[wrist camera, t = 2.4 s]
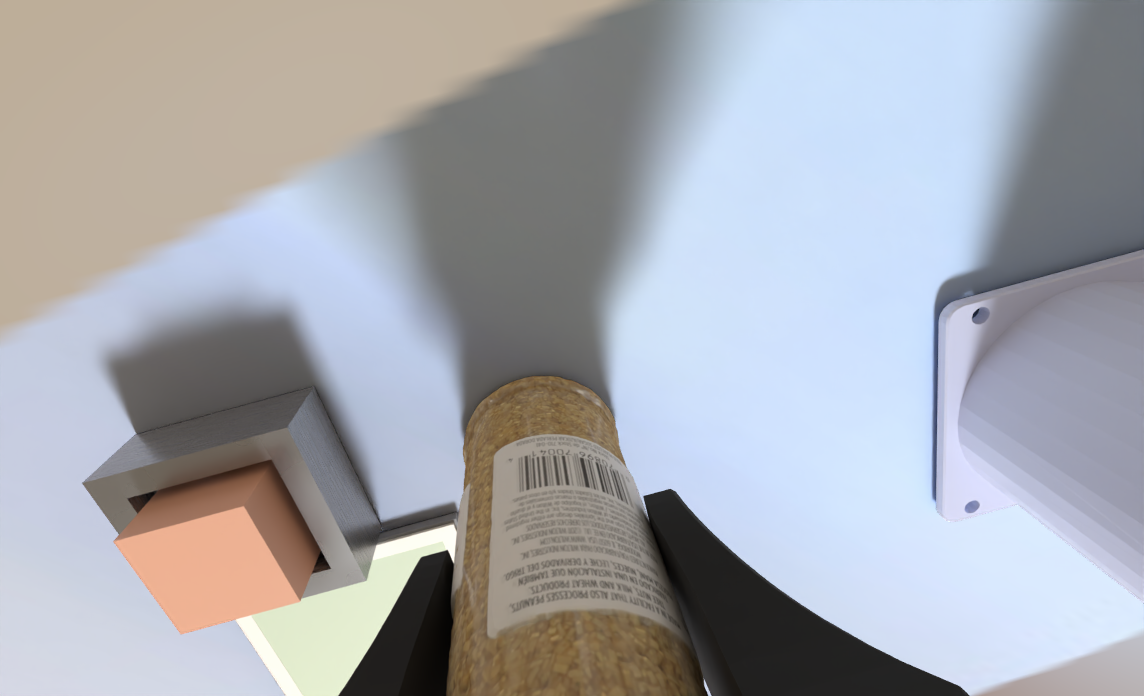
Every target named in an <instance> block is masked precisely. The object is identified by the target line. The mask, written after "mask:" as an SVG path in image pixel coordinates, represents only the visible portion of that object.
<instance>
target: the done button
mask: <svg viewBox="0 0 1144 696" xmlns="http://www.w3.org/2000/svg"><path fill="white" fill-rule="evenodd" d="M113 542H114V543H115V545H116V546H117V547H118V549H119V550H120V551H121V553H122V554H123V556H124V557H125V558H126V560H127V561H128V562H129V564H130V565H131V567H132V568H133V569H134V571H135V572H136V573H137V575H138V576H139V578H140V579H141V580H142V582H143V583H144V584H145V586H146V587H147V589H148V590H149V591H150V593H151V594H152V595H153V597H154V598H155V599H156V601H157V602H158V604H159V605H160V606H161V608H162V609H163V610H164V612H165V613H166V615H167V616H168V617H169V619H170V620H171V621H172V623H173V624H174V626H175V627H176V628H177V630H178V631H179V632H180V634H184V633H188V632H192V631H195V630H199V629H203V628H206V627H210V626H214V625H217V624H221V623H225V622H228V621H232V620H236V619H239V618H243V617H247V616H250V615H254V614H258V613H261V612H265V611H268V610H272V609H276V608H279V607H283V606H287V605H290V604H294V603H298V602H300V601H301V599H302V596H303V594H304V591H305V589H306V586H307V584H308V581H309V579H310V576H311V574H312V571H313V569H314V566H315V564H316V561H317V559H318V556H319V554H320V551H321V549H320V547H319V545H318V544H317V542H316V540H315V538H314V536H313V534H312V533H311V531H310V529H309V527H308V525H307V523H306V522H305V520H304V518H303V516H302V514H301V512H300V511H299V509H298V507H297V505H296V503H295V501H294V500H293V498H292V496H291V494H290V492H289V490H288V489H287V487H286V485H285V483H284V481H283V479H282V478H281V476H280V474H279V472H278V470H277V468H276V467H275V465H274V463H273V461H272V459H271V460H267V461H263V462H260V463H256V464H252V465H249V466H245V467H241V468H237V469H234V470H230V471H226V472H223V473H219V474H215V475H212V476H208V477H204V478H201V479H197V480H193V481H190V482H186V483H182V484H179V485H175V486H171V487H168V488H164V489H160V490H158V491H157V492H156V494H155V495H154V496H153V497H152V498H151V499H150V500H149V502H148V503H147V504H146V505H145V506H144V507H143V508H142V509H141V511H140V512H139V513H138V514H137V515H136V516H135V517H134V519H133V520H132V521H131V522H130V523H129V524H128V525H127V527H126V528H125V529H124V530H123V531H122V532H121V533H120V535H119V536H118V537H117V538H116V539H115V540H114V541H113Z"/></svg>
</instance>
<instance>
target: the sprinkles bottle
mask: <svg viewBox="0 0 1144 696" xmlns="http://www.w3.org/2000/svg"><path fill="white" fill-rule="evenodd" d="M463 456H464V462H465V466H466V467H465V478H464V493H463V495H462V498H461V502H460V508H459V515H458V525H457V535H456V545H455V557H454V571H453V581H452V592H451V613H452V618H453V626H452V630H451V647H450V652H449V670H448V676H447V691H446V696H708V694H707V691H706V689H705V687H704V678H703V674H702V669H701V665H700V662H699V659H698V656H697V653H696V650H695V647H694V645H693V642H692V639H691V636H690V634H689V631H688V628H687V625H686V622H685V620H684V617H683V614H682V611H681V608H680V606H679V603H678V600H677V597H676V595H675V592H674V589H673V586H672V583H671V581H670V578H669V575H668V572H667V569H666V566H665V563H664V560H663V558H662V555H661V553H660V550H659V547H658V544H657V541H656V539H655V536H654V533H653V530H652V528H651V525H650V522H649V519H648V516H647V514H646V511H645V508H644V506H643V503H642V500H641V497H640V495H639V492H638V489H637V487H636V484H635V482H634V479H633V477H632V475H631V474H630V472H629V470H628V469H627V467H626V464H625V461H624V458H623V456H622V453H621V450H620V447H619V439H618V433H617V429H616V426H615V420H614V417H613V416H612V414H611V412H610V410H609V408H608V407H607V406H606V404H605V403H604V402H603V401H602V400H601V398H600V397H599V396H598V395H596V394H595V393H594V392H593V391H592V390H591V389H589V388H587V387H585V386H583V385H581V384H579V383H577V382H575V381H572V380H566V379H563V378H561V377H555V376H532V377H525V378H523V379H519V380H516V381H513V382H511V383H509V384H506V385H504V386H502V387H500V388H499V389H498V390H497V391H495V392H493V393H492V394H490V395H489V396H488V397H487V398H485V399H484V400H483V401H482V402H481V403H480V404H479V405H478V406H477V408H476V409H475V411H474V413H473V415H472V417H471V419H470V421H469V423H468V425H467V428H466V435H465V438H464V446H463Z"/></svg>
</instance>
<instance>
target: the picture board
mask: <svg viewBox="0 0 1144 696" xmlns="http://www.w3.org/2000/svg"><path fill="white" fill-rule="evenodd" d="M457 525H458V515H457V512H455V513H452V514H448V515H444V516H441V517H437V518H433V519H430V520H426V521H422V522H419V523H415V524H411V525H408V526H404V527H400V528H397V529H393V530H389V531H386V532H382V533H380V535H379V538H378V542H377V545H376V549H375V552H374V556H373V560H372V563H371V567H370V570H369V574H368V578H367V581H364V582H361V583H357V584H353V585H350V586H346V587H342V588H339V589H335V590H331V591H328V592H324V593H320V594H317V595H313V596H309V597H306V598H302V599H301V601H300V602H298V603H294V604H290V605H287V606H283V607H279V608H276V609H272V610H268V611H265V612H261V613H258V614H254V615H250V616H247V617H243V618H239V619H236V622H237V623H238V625H239V626H240V628H241V629H242V631H243V632H244V634H245V635H246V637H247V638H248V640H249V641H250V643H251V644H252V646H253V647H254V649H255V650H256V652H257V653H258V655H259V656H260V658H261V659H262V661H263V662H264V664H265V665H266V667H267V668H268V670H269V671H270V673H271V674H272V676H273V677H274V679H275V680H276V682H277V683H278V685H279V686H280V688H281V689H282V691H283V692H284V694H285V696H338V695H339V694H340V692H341V691H342V689H343V688H344V686H345V685H346V683H347V682H348V680H349V679H350V677H351V676H352V674H353V673H354V671H355V669H356V668H357V666H358V665H359V663H360V662H361V660H362V659H363V657H364V655H365V654H366V652H367V651H368V649H369V647H370V646H371V644H372V643H373V641H374V639H375V637H376V636H377V634H378V632H379V631H380V629H381V627H382V625H383V624H384V622H385V620H386V619H387V617H388V615H389V613H390V612H391V610H392V608H393V606H394V604H395V603H396V601H397V599H398V597H399V595H400V594H401V592H402V590H403V588H404V586H405V584H406V583H407V581H408V579H409V577H410V575H411V573H412V572H413V570H414V568H415V566H416V565H417V563H418V561H419V560H420V558H421V557H423V556H427V555H430V554H434V553H438V552H441V551H445V550H448V551H449V553H450V556H451V558H452V560H453V563H454V557H455V545H456V535H457Z"/></svg>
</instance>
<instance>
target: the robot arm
mask: <svg viewBox="0 0 1144 696" xmlns="http://www.w3.org/2000/svg"><path fill="white" fill-rule="evenodd" d="M977 309H979V312H978V314H977V315H976V316H975V317H974V318H972V316H973V313H974V312H975V311H976V310H977ZM643 497H644V501H645V505H646V509H647V514H648V518H649V522H650V525H651V528H652V530H653V533H654V536H655V539H656V541H657V544H658V547H659V550H660V553H661V555H662V558H663V560H664V563H665V566H666V569H667V572H668V575H669V578H670V581H671V583H672V586H673V589H674V592H675V595H676V597H677V600H678V603H679V606H680V608H681V611H682V614H683V617H684V620H685V622H686V625H687V628H688V631H689V634H690V636H691V639H692V642H693V645H694V647H695V650H696V653H697V656H698V659H699V662H700V665H701V669H702V674H703V677H704V679H705V682H706V684H707V686H708V688H709V691H710V693H711V695H712V696H969V695H968V694H967V693H966V692H965V691H964V690H963V689H962V688H961V687H960V686H958V685H955V684H953V683H951V682H948V681H946V680H944V679H941V678H939V677H937V676H934V675H932V674H930V673H927V672H925V671H923V670H920V669H918V668H916V667H913V666H911V665H909V664H906V663H904V662H902V661H900V660H898V659H896V658H894V657H892V656H890V655H888V654H886V653H884V652H882V651H880V650H878V649H876V648H874V647H872V646H870V645H868V644H866V643H865V642H863V641H861V640H859V639H858V638H856V637H854V636H852V635H851V634H849V633H847V632H845V631H844V630H842V629H840V628H838V627H837V626H835V625H833V624H831V623H830V622H828V621H826V620H824V619H823V618H821V617H820V616H818V615H816V614H815V613H813V612H812V611H810V610H809V609H807V608H806V607H804V606H803V605H801V604H800V603H798V602H797V601H795V600H794V599H792V598H791V597H789V596H788V595H787V594H785V593H784V592H782V591H781V590H779V589H778V588H777V587H775V586H774V585H773V584H771V583H770V582H769V581H767V580H766V579H765V578H764V577H762V576H761V575H760V574H758V573H757V572H756V571H755V570H754V569H752V568H751V567H750V566H749V565H747V564H746V563H745V562H744V561H743V560H741V559H740V558H739V557H738V556H737V555H736V554H735V553H733V552H732V551H731V550H730V549H729V548H728V547H727V546H726V545H725V544H724V543H723V542H722V541H720V540H719V539H718V538H717V537H716V536H715V535H714V534H713V533H712V532H711V531H710V530H709V529H708V528H707V527H706V526H705V525H704V524H703V523H702V522H701V521H700V520H699V519H698V518H697V517H696V516H695V514H694V513H693V512H692V511H691V510H690V509H689V508H688V507H687V505H686V504H685V503H684V502H683V501H682V499H681V498H680V497H679V495H678V494H677V493H676V492H675V491H673V490H671V489H668V490H664V491H661V492H657V493H654V494H650V495H646V496H643ZM1015 505H1018V506H1020V507H1021V508H1022V509H1024V510H1025V511H1026V512H1027V513H1029V514H1030V515H1031V516H1032V517H1034V518H1035V519H1036V520H1038V521H1039V522H1040V523H1041V524H1043V525H1044V526H1045V527H1047V528H1048V529H1049V530H1050V531H1052V532H1053V533H1054V534H1056V535H1057V536H1058V537H1059V538H1061V539H1062V540H1063V541H1064V542H1066V543H1067V544H1068V545H1070V546H1071V547H1072V548H1073V549H1075V550H1076V551H1077V552H1079V553H1080V554H1081V555H1082V556H1084V557H1085V558H1086V559H1087V560H1089V561H1090V562H1091V563H1093V564H1094V565H1095V566H1096V567H1098V568H1099V569H1100V570H1102V571H1103V572H1104V573H1105V574H1107V575H1108V576H1109V577H1111V578H1112V579H1113V580H1114V581H1116V582H1117V583H1118V584H1119V585H1121V586H1122V587H1123V588H1125V589H1126V590H1127V591H1128V592H1130V593H1131V594H1132V595H1134V596H1135V597H1136V598H1137V599H1139V600H1140V601H1141V602H1143V603H1144V249H1143V250H1139V251H1136V252H1132V253H1128V254H1125V255H1121V256H1117V257H1114V258H1110V259H1106V260H1103V261H1099V262H1095V263H1092V264H1088V265H1084V266H1081V267H1077V268H1073V269H1070V270H1066V271H1062V272H1059V273H1055V274H1051V275H1048V276H1044V277H1040V278H1036V279H1033V280H1029V281H1025V282H1022V283H1018V284H1014V285H1011V286H1007V287H1003V288H1000V289H996V290H992V291H989V292H985V293H981V294H978V295H974V296H970V297H967V298H963V299H959V300H956V301H953V302H951V303H949V304H948V305H947V306H946V307H945V308H944V309H943V310H942V312H941V314H940V317H939V337H938V409H937V480H936V510H937V513H938V514H939V515H941V516H942V517H943V518H944V519H945V520H946V521H949V522H956V521H960V520H964V519H967V518H971V517H975V516H978V515H982V514H986V513H989V512H993V511H997V510H1000V509H1004V508H1007V507H1011V506H1015ZM453 571H454V563H453V560H452V558H451V556H450V553H449V551H448V550H445V551H441V552H438V553H434V554H430V555H427V556H423V557H421V558H420V560H419V561H418V563H417V565H416V566H415V568H414V570H413V572H412V573H411V575H410V577H409V579H408V581H407V583H406V584H405V586H404V588H403V590H402V592H401V594H400V595H399V597H398V599H397V601H396V603H395V604H394V606H393V608H392V610H391V612H390V613H389V615H388V617H387V619H386V620H385V622H384V624H383V625H382V627H381V629H380V631H379V632H378V634H377V636H376V637H375V639H374V641H373V643H372V644H371V646H370V647H369V649H368V651H367V652H366V654H365V655H364V657H363V659H362V660H361V662H360V663H359V665H358V666H357V668H356V669H355V671H354V673H353V674H352V676H351V677H350V679H349V680H348V682H347V683H346V685H345V686H344V688H343V689H342V691H341V692H340V694H339V695H338V696H446V691H447V676H448V670H449V652H450V647H451V630H452V626H453V618H452V613H451V592H452V581H453Z"/></svg>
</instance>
